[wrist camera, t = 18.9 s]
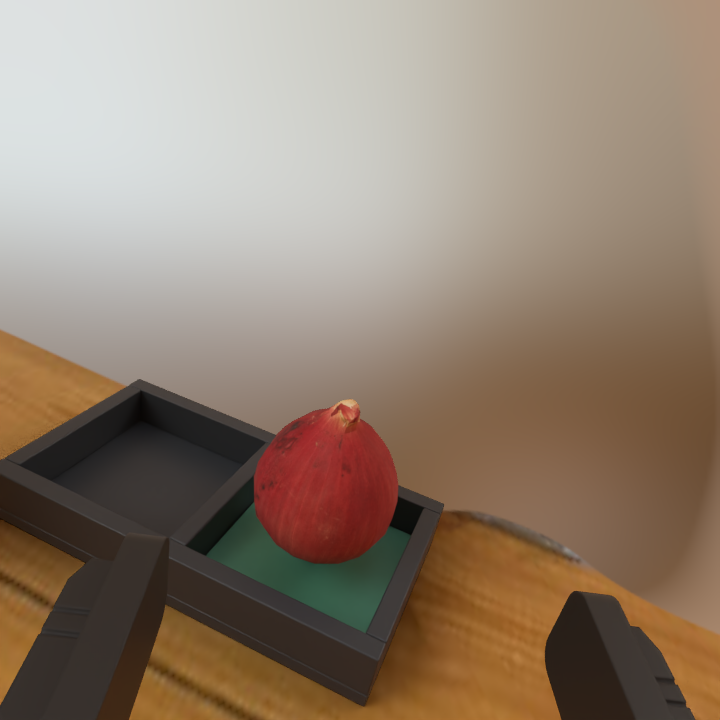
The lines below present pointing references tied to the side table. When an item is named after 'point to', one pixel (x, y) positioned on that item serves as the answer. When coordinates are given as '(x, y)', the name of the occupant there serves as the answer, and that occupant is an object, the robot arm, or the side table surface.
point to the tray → (216, 531)
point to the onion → (326, 486)
